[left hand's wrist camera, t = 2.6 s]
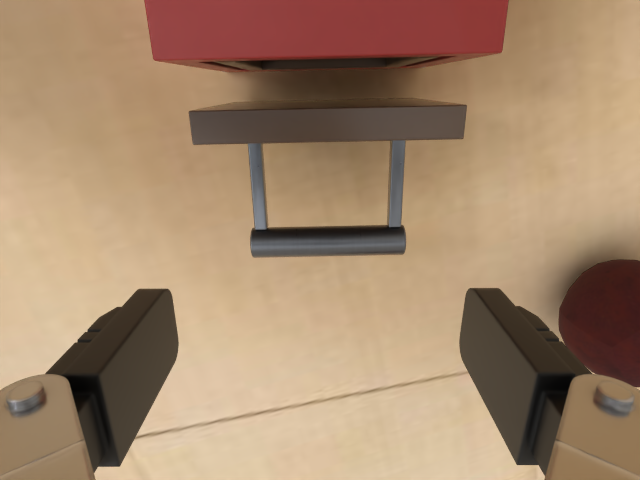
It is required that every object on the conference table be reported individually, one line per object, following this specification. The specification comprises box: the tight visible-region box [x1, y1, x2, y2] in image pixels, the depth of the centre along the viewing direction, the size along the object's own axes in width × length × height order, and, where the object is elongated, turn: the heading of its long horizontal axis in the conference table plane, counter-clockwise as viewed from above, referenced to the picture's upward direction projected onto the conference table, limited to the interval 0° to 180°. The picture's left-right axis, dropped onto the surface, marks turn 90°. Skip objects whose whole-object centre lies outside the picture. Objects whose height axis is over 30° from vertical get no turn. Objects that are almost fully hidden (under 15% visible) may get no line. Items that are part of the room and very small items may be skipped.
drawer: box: [189, 56, 467, 258], centre depth 17 cm, size 22×10×9 cm, turn 1°
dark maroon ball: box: [559, 260, 640, 387], centre depth 25 cm, size 7×8×7 cm
